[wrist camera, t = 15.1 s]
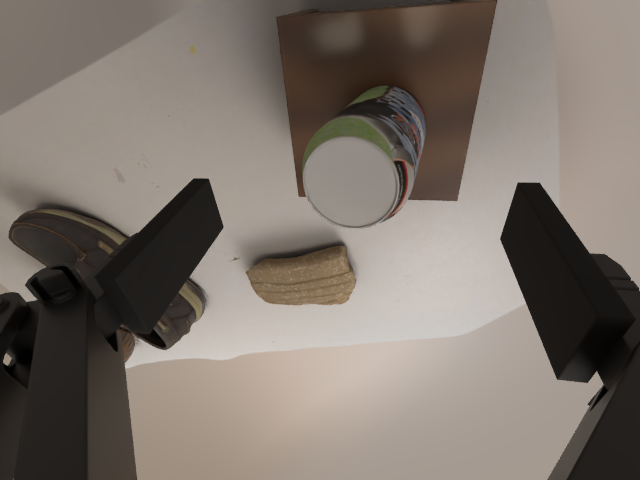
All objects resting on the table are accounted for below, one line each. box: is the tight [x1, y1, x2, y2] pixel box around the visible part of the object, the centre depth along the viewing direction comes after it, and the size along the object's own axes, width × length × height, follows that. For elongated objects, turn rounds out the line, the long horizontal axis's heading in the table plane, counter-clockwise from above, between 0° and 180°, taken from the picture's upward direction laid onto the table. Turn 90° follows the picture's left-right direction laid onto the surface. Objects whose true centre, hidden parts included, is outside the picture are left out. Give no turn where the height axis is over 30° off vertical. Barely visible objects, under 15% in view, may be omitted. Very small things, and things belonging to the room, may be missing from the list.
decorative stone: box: [246, 246, 356, 305], centre depth 47 cm, size 10×16×4 cm, turn 110°
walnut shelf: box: [277, 0, 497, 201], centre depth 29 cm, size 14×14×8 cm
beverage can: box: [302, 85, 427, 229], centre depth 21 cm, size 6×7×12 cm
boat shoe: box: [9, 209, 205, 350], centre depth 49 cm, size 11×29×11 cm, turn 57°
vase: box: [118, 329, 135, 362], centre depth 65 cm, size 7×7×9 cm
